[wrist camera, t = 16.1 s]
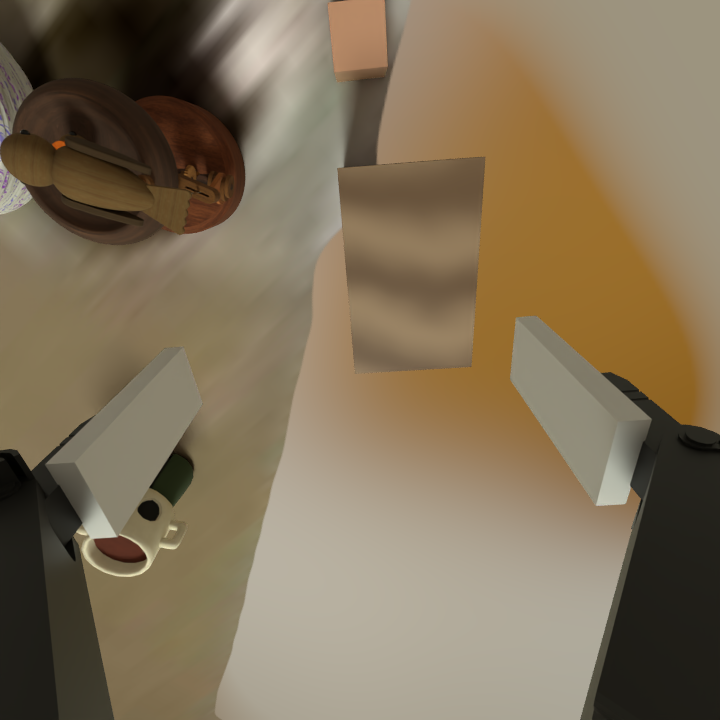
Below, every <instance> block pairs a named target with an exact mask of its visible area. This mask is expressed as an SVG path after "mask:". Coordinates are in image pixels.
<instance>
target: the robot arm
mask: <svg viewBox="0 0 720 720" xmlns="http://www.w3.org/2000/svg"><path fill="white" fill-rule="evenodd" d="M510 380H511V381H512V383H513V384H514V386H515V387H516V389H517V390H518V391H519V393H520V394H521V396H522V397H523V399H524V400H525V402H526V403H527V405H528V406H529V408H530V409H531V411H532V412H533V414H534V415H535V417H536V418H537V420H538V421H539V423H540V424H541V425H542V427H543V428H544V430H545V431H546V433H547V434H548V436H549V437H550V439H551V440H552V442H553V443H554V445H555V446H556V448H557V449H558V451H559V452H560V453H561V455H562V456H563V458H564V459H565V461H566V462H567V464H568V465H569V467H570V468H571V470H572V471H573V473H574V474H575V476H576V477H577V479H578V480H579V481H580V483H581V484H582V486H583V487H584V489H585V490H586V492H587V493H588V494H589V496H590V498H591V499H592V501H593V502H594V504H595V505H596V506H602V505H617V504H626V501H627V498H628V495H629V491H630V488H631V487H632V488H633V490H634V491H635V492H636V493H637V494H638V496H639V497H640V498H641V501H640V504H639V507H638V510H637V513H636V516H635V519H634V522H633V525H632V528H631V529H632V532H631V536H630V540H629V543H628V547H627V551H626V554H625V558H624V562H623V565H622V569H621V573H620V576H619V580H618V583H617V587H616V591H615V594H614V598H613V602H612V606H611V609H610V613H609V617H608V620H607V624H606V627H605V631H604V635H603V638H602V642H601V646H600V650H599V653H598V657H597V661H596V664H595V668H594V671H593V675H592V679H591V683H590V686H589V690H588V693H587V697H586V701H585V704H584V708H583V712H582V715H581V719H580V720H720V435H719V434H717V433H715V432H713V431H710V430H707V429H705V428H702V427H697V426H691V425H681V424H680V423H678V422H677V421H676V420H674V419H673V418H672V417H671V416H670V415H669V414H667V413H666V412H665V411H664V410H663V409H661V408H660V407H659V406H658V405H657V404H655V403H654V402H653V401H652V400H649V399H648V397H647V396H646V395H645V394H643V393H642V392H639V389H637V388H636V387H635V386H634V385H632V384H631V383H630V382H629V381H628V380H626V379H624V378H622V377H620V376H617V375H615V374H613V373H611V372H608V373H600V372H599V371H597V370H596V369H595V368H594V367H593V366H592V365H591V364H590V363H588V362H587V361H586V360H585V359H584V358H583V357H582V356H581V355H580V354H578V353H577V352H576V351H575V350H574V349H573V348H572V347H571V346H569V345H568V344H567V343H566V342H565V341H564V340H563V339H562V338H561V337H559V336H558V335H557V334H556V333H555V332H554V331H553V330H552V329H551V328H549V327H548V326H547V325H546V324H545V323H544V322H543V321H542V320H540V319H539V318H538V317H537V316H528V317H518V318H516V324H515V334H514V345H513V355H512V366H511V376H510ZM202 404H203V403H202V400H201V397H200V394H199V391H198V388H197V385H196V382H195V379H194V376H193V373H192V371H191V368H190V365H189V362H188V359H187V356H186V353H185V350H184V347H174V348H165V349H163V350H162V351H161V352H160V353H159V354H158V355H157V356H156V357H155V358H154V359H153V360H152V361H151V362H150V363H149V364H148V365H147V366H146V367H145V368H144V369H143V370H142V371H141V372H140V373H139V374H138V375H137V376H136V377H135V378H134V379H133V380H132V381H131V382H129V383H128V384H127V385H126V386H125V387H124V388H123V389H122V390H121V391H120V392H119V393H118V394H117V395H116V396H115V397H114V398H113V399H112V400H111V401H110V402H109V403H108V404H107V405H106V406H105V407H104V408H103V409H102V410H101V411H100V412H99V413H98V414H97V415H95V416H93V417H91V418H90V419H88V420H87V421H85V422H83V423H82V424H80V425H79V426H78V427H77V428H76V429H75V430H74V431H73V432H72V433H71V434H70V435H69V437H67V438H66V439H64V440H63V441H62V442H61V443H60V446H57V447H56V448H55V449H54V450H53V451H52V452H51V453H50V454H49V455H48V456H47V457H46V458H44V459H43V460H42V461H41V462H40V463H39V464H38V465H37V466H36V467H35V468H34V469H33V470H32V471H30V469H29V468H28V466H27V464H26V463H25V461H24V460H23V458H22V457H21V455H20V454H19V452H18V451H17V450H12V449H7V450H0V720H114V717H113V712H112V707H111V702H110V697H109V692H108V687H107V682H106V677H105V672H104V667H103V663H102V658H101V653H100V648H99V643H98V638H97V633H96V628H95V623H94V618H93V613H92V608H91V604H90V599H89V594H88V589H87V584H86V579H85V574H84V569H83V564H82V559H81V554H80V549H79V545H78V543H77V542H76V540H75V539H74V537H73V535H74V534H75V533H76V531H77V530H78V529H79V527H80V526H81V525H83V527H84V528H85V530H86V532H87V533H88V535H89V536H90V538H91V539H96V538H112V537H118V535H119V534H120V532H121V531H122V529H123V528H124V526H125V524H126V523H127V521H128V520H129V518H130V517H131V515H132V513H133V512H134V510H135V509H136V507H137V506H138V504H139V503H140V501H141V499H142V498H143V496H144V495H145V493H146V492H147V490H148V489H149V487H150V485H151V484H152V482H153V481H154V479H155V478H156V476H157V475H158V473H159V471H160V470H161V468H162V467H163V465H164V464H165V462H166V461H167V459H168V457H169V456H170V454H171V453H172V451H173V450H174V448H175V446H176V445H177V443H178V442H179V440H180V439H181V437H182V436H183V434H184V432H185V431H186V429H187V428H188V426H189V425H190V423H191V422H192V420H193V418H194V417H195V415H196V414H197V412H198V411H199V409H200V408H201V406H202Z"/></svg>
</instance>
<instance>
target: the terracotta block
mask: <svg viewBox="0 0 720 720" xmlns="http://www.w3.org/2000/svg"><path fill="white" fill-rule="evenodd" d="M328 12H329V22H330V32H331V43H332V53H333V63H334V73H335V76H336V80H337V82H345V81H354V80H363V79H372V78H381V77H385V75H386V71H387V67H388V62H387V40H386V19H385V0H347V1H338V2H330V3H328Z"/></svg>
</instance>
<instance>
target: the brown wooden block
mask: <svg viewBox="0 0 720 720" xmlns="http://www.w3.org/2000/svg"><path fill="white" fill-rule="evenodd" d="M484 168H485V157H475V158H462V159H461V158H460V159H447V160H434V161H421V162H408V163H395V164H383V165H370V166H357V167H344V168H337V170H338V181H339V193H340V204H341V216H342V228H343V239H344V251H345V262H346V273H347V286H348V296H349V309H350V320H351V331H352V343H353V355H354V366H355V373H373V372H390V371H407V370H424V369H441V368H458V367H471V363H472V347H473V332H474V318H475V303H476V288H477V273H478V257H479V243H480V228H481V213H482V198H483V182H484Z"/></svg>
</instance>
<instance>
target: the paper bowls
mask: <svg viewBox="0 0 720 720" xmlns="http://www.w3.org/2000/svg"><path fill="white" fill-rule="evenodd" d="M32 91H34V90H33V88H32V85H31V84H30V82H29V80H28V78H27V76H26V75H25V73H24V72H23V70H22V69H21V67H20V66H19V65H18V63H17V62H16V61H15V59H14V58H13V56H12V55H11V54H10V52H9V51H8V50H7V49H6V48H5V46H4V45H3V44H2V43H1V42H0V146H1V143H2V141H3V140H4V139H5V138H6V137H7V136H9V135H11V134H12V129H13V123H14V119H15V116H16V113H17V111H18V109H19V107H20V105H21V104H22V102H23V101H24V99H25V98H26V97H27V96H28V95H29V94H30V93H31V92H32ZM31 199H32V196H31V194H30V193H29V191H28V190H27V188H26V186H25V185H24V184H22V183H21V182H20V180H18V179H17V178H15V177H14V176H13V175H12V174H10V173H9V171H8V170H7V169H6V168H5V166H4V164H3V163H2V160H1V157H0V214H4V213H9V212H11V211H14V210H16V209H18V208H20V207H21V206H23V205H25V204H26V203H27V202H29V201H30V200H31Z"/></svg>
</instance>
